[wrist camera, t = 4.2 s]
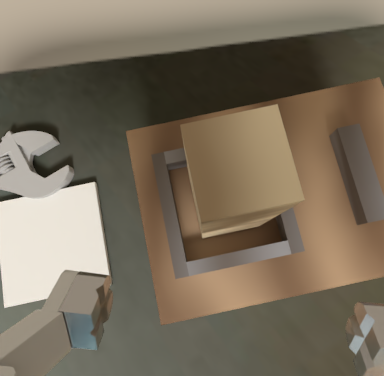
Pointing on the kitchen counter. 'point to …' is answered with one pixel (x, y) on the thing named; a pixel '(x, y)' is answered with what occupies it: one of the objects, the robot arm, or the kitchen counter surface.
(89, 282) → the robot arm
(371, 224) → the brown rectangular box
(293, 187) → the oak block
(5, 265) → the white mat
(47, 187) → the adjustable wrench
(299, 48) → the kitchen counter surface
